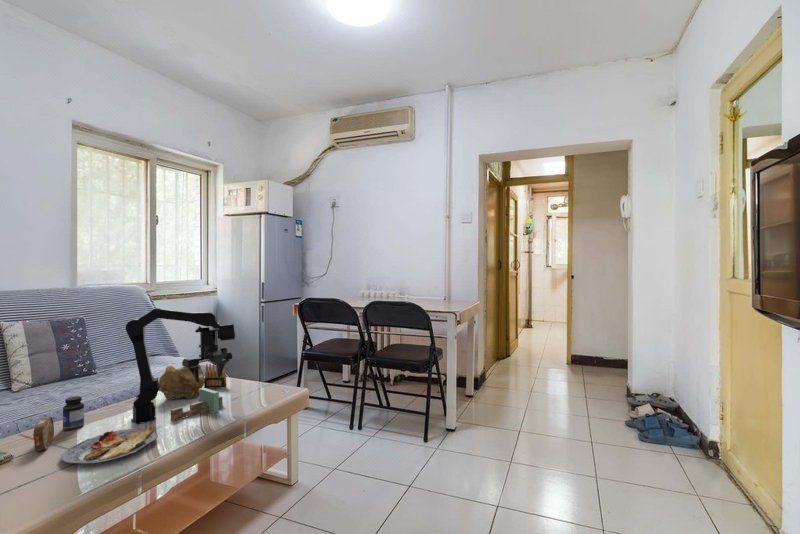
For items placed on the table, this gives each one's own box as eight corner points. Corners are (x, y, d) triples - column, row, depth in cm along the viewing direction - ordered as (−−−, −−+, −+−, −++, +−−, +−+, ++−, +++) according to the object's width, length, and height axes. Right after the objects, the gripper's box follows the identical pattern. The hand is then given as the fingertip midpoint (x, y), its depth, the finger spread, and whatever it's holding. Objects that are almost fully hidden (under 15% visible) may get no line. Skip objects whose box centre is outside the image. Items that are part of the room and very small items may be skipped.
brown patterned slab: (44, 453, 125) (44, 426, 125) (31, 456, 123) (31, 429, 123) (55, 437, 138) (54, 413, 138) (43, 439, 136) (43, 415, 136)
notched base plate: (173, 420, 151) (173, 410, 151) (170, 419, 152) (170, 409, 152) (222, 406, 167) (222, 396, 167) (220, 405, 168) (219, 396, 168)
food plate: (107, 433, 139) (107, 423, 139) (171, 433, 139) (171, 423, 139) (41, 471, 114) (40, 459, 114) (119, 471, 114) (118, 459, 114)
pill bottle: (61, 428, 146) (61, 398, 146) (82, 423, 150) (82, 394, 151) (64, 432, 142) (64, 401, 142) (85, 427, 146) (85, 397, 146)
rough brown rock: (184, 406, 170) (187, 372, 171) (150, 402, 173) (153, 368, 174) (217, 392, 193) (220, 362, 194) (187, 388, 196) (190, 358, 197)
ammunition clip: (204, 388, 196) (203, 363, 196) (206, 386, 198) (205, 363, 198) (224, 388, 195) (224, 363, 196) (226, 386, 197) (226, 362, 197)
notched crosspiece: (214, 413, 159) (214, 393, 159) (199, 407, 166) (198, 388, 166) (218, 411, 160) (218, 392, 161) (203, 406, 167) (203, 387, 168)
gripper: (195, 347, 152) (195, 388, 151) (239, 340, 167) (240, 377, 166) (181, 345, 158) (181, 383, 158) (225, 338, 173) (225, 373, 173)
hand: (208, 379), depth 164 cm, fingers open, 9 cm apart
